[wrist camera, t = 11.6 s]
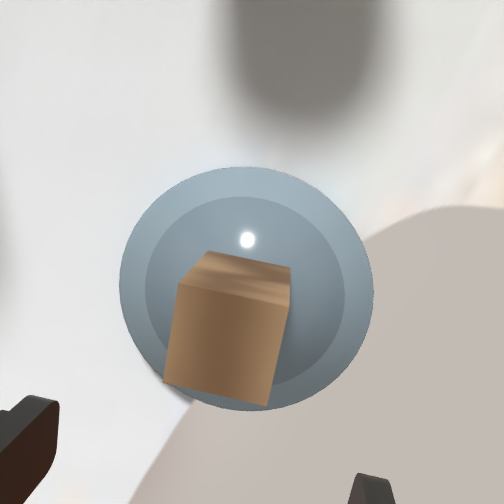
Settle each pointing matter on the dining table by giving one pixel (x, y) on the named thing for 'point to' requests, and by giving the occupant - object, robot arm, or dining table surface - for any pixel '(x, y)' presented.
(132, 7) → the dining table surface
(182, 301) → the block
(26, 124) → the dining table surface
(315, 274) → the dish
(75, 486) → the dining table surface
